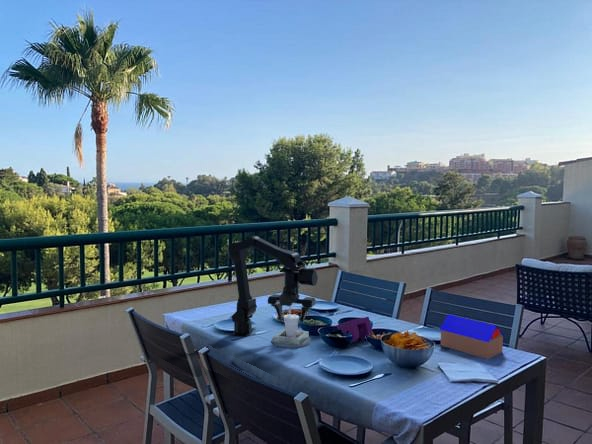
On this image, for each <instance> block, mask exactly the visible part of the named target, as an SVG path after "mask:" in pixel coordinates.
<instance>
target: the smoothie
mask: <svg viewBox="0 0 592 444" xmlns="http://www.w3.org/2000/svg"><path fill="white" fill-rule="evenodd" d="M291 306H292V305H291ZM291 306H288V311H289V312H288V314H284V315H283V317H282V320H284V327H285V328H284V329H286V337H293V338H296V334H297V330H298V326H299V320H300V316H299V315H298V314H291V313H292V311H291V308H292V307H291Z"/></svg>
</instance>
